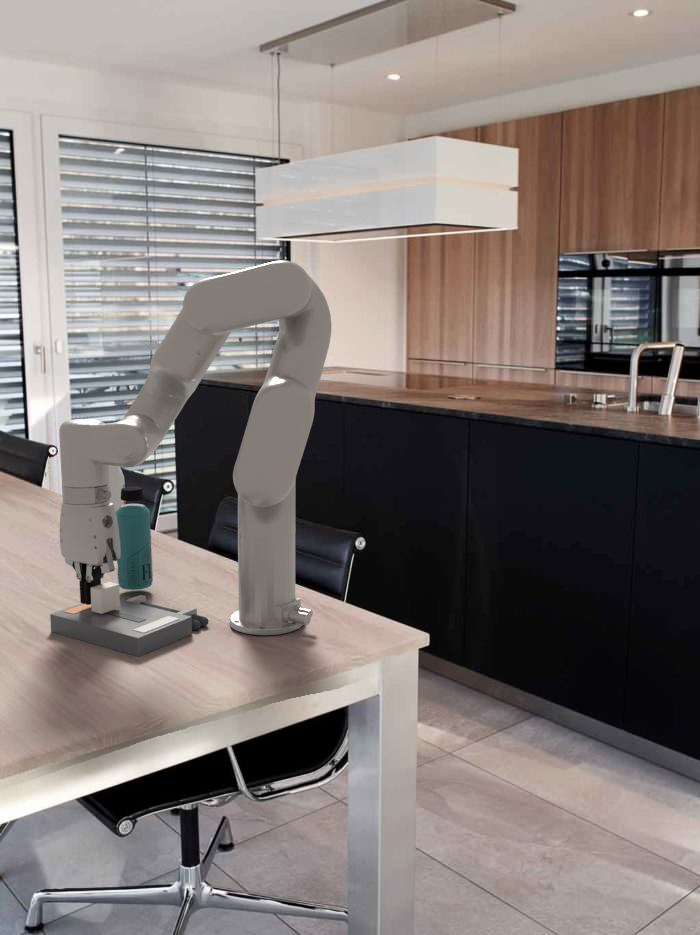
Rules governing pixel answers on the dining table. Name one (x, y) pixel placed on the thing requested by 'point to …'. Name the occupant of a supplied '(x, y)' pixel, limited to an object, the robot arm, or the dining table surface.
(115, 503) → the milk bottle
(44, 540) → the dining table surface
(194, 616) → the dressed cords
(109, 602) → the block
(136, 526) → the beverage bottle
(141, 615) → the panel
